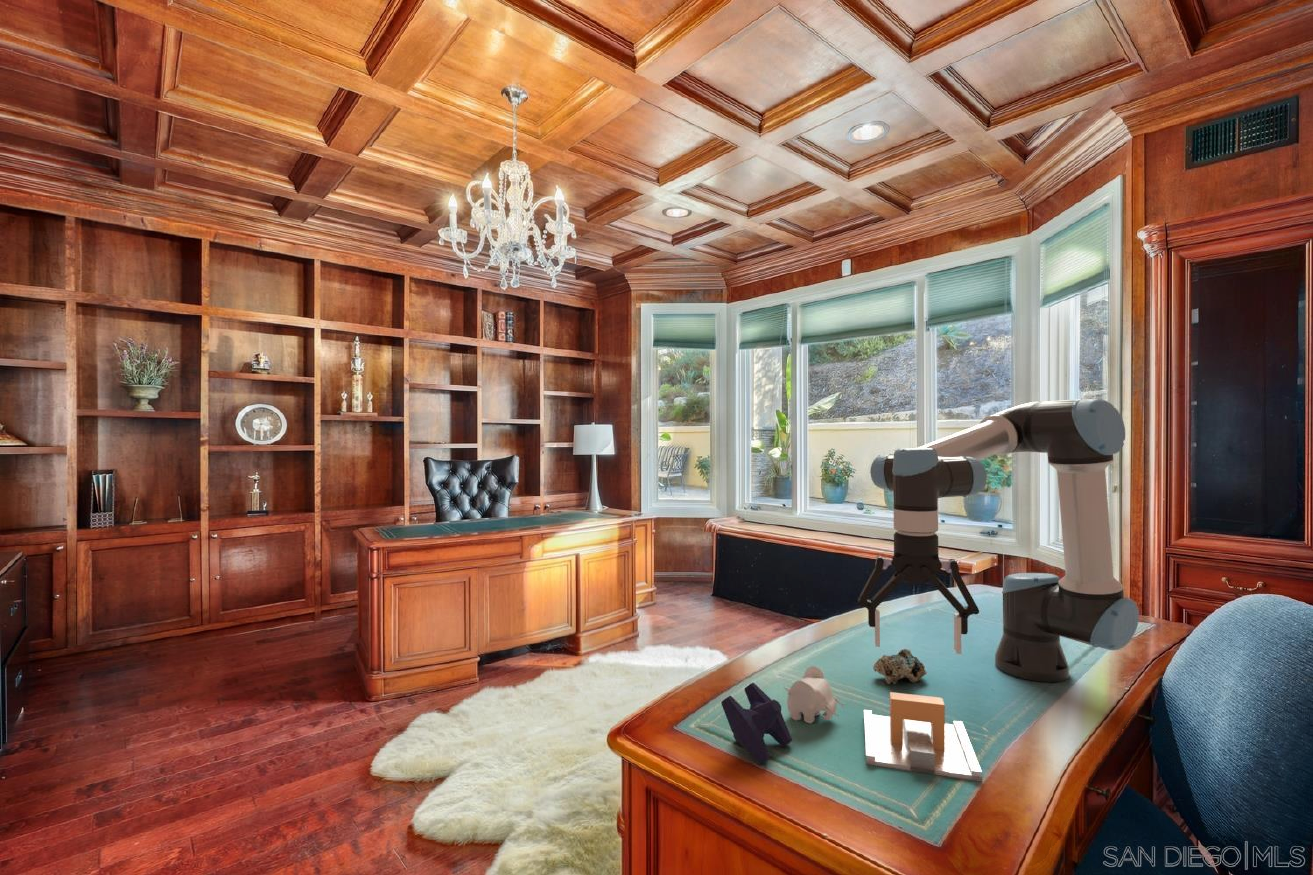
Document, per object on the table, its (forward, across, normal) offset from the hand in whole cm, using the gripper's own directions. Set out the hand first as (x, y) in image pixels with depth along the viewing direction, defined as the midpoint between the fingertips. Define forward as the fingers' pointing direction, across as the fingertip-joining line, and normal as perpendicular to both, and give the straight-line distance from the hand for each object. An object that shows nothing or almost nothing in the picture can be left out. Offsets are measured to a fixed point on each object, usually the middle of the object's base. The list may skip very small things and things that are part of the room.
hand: (916, 647), depth 110 cm
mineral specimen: (+19, 0, -31) cm, 36 cm away
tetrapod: (+18, +28, +9) cm, 35 cm away
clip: (+17, 0, 0) cm, 17 cm away
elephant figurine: (+18, +19, -6) cm, 27 cm away
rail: (+18, 0, 0) cm, 18 cm away
